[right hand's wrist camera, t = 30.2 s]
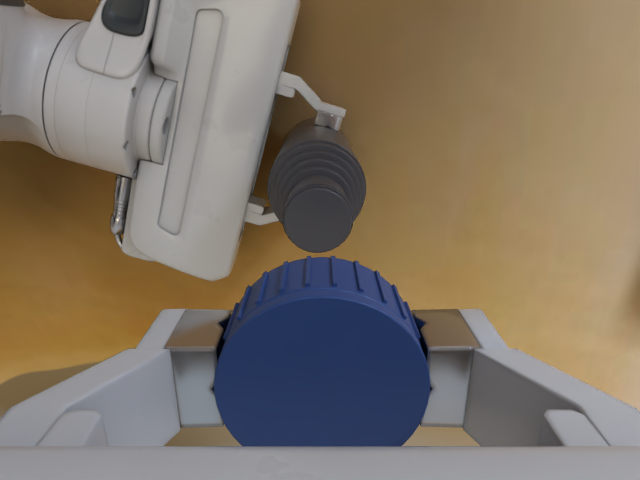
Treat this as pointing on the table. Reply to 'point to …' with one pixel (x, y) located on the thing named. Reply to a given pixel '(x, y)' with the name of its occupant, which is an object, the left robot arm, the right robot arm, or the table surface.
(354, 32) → the table surface
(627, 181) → the table surface
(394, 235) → the table surface
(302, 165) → the bottle
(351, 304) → the cap
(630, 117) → the table surface
